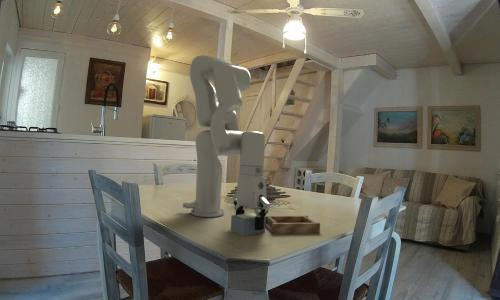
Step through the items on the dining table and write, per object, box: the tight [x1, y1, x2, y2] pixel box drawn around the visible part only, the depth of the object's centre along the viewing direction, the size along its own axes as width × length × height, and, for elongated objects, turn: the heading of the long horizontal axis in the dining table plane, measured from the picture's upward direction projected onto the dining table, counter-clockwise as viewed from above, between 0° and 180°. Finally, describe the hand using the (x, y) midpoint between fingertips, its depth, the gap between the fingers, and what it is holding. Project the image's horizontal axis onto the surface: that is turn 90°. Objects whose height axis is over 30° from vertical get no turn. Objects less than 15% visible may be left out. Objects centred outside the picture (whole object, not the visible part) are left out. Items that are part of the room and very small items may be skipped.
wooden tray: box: [265, 215, 321, 235], centre depth 98 cm, size 16×10×3 cm, turn 104°
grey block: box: [230, 211, 267, 237], centre depth 92 cm, size 9×6×5 cm, turn 130°
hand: (249, 225), depth 92 cm, fingers open, 9 cm apart
